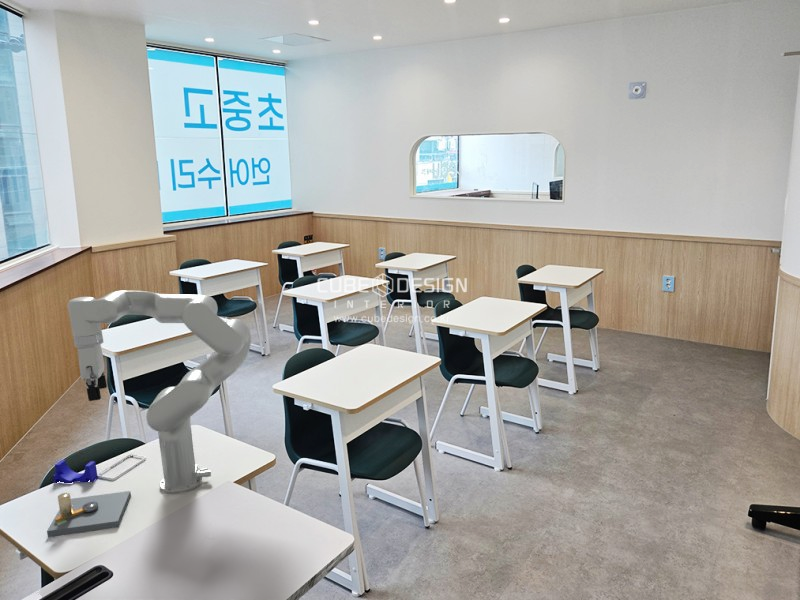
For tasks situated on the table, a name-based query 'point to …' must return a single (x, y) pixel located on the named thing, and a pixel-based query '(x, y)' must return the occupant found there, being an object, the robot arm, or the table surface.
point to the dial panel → (92, 515)
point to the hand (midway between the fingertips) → (98, 394)
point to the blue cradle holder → (74, 473)
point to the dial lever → (67, 507)
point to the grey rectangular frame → (123, 471)
